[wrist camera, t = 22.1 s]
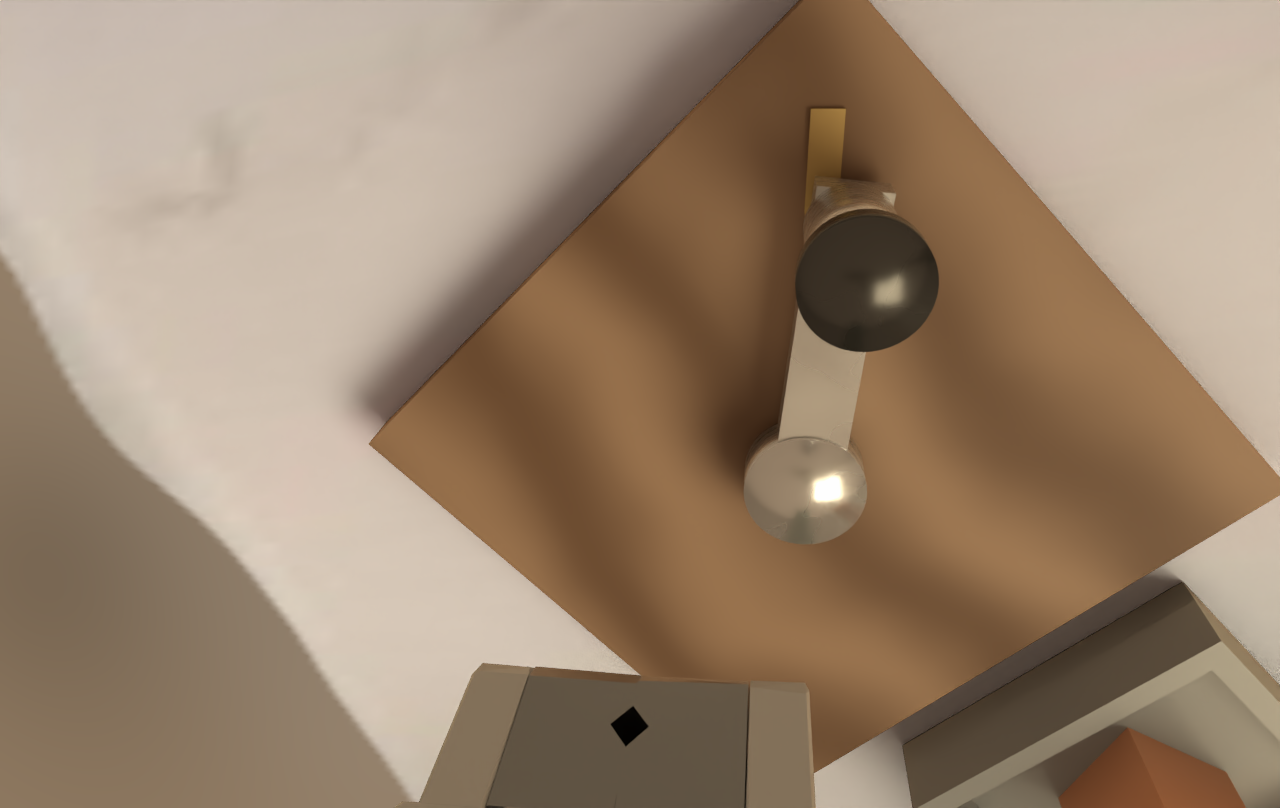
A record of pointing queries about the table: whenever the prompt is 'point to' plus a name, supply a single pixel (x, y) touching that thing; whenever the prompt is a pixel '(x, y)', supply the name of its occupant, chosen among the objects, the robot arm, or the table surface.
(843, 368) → the crank
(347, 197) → the table surface
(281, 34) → the table surface
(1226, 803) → the orange block
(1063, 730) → the tray
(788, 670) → the plate
